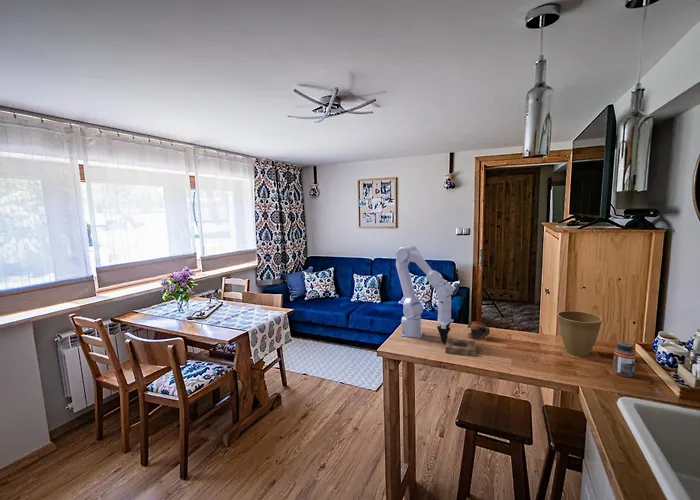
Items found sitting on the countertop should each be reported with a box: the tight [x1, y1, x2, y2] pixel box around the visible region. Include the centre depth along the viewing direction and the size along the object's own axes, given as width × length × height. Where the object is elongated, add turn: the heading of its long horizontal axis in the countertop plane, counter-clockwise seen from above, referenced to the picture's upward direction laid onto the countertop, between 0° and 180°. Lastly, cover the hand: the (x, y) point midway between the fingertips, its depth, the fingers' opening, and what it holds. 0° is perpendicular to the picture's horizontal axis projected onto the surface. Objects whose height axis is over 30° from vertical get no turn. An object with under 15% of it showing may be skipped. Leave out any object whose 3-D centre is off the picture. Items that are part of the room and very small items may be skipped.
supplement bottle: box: [612, 341, 637, 378], centre depth 116 cm, size 6×6×11 cm
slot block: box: [445, 337, 477, 357], centre depth 140 cm, size 12×10×2 cm
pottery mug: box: [467, 321, 491, 340], centre depth 154 cm, size 12×10×8 cm
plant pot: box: [556, 310, 603, 358], centre depth 133 cm, size 15×15×16 cm
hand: (444, 338), depth 148 cm, fingers open, 7 cm apart
